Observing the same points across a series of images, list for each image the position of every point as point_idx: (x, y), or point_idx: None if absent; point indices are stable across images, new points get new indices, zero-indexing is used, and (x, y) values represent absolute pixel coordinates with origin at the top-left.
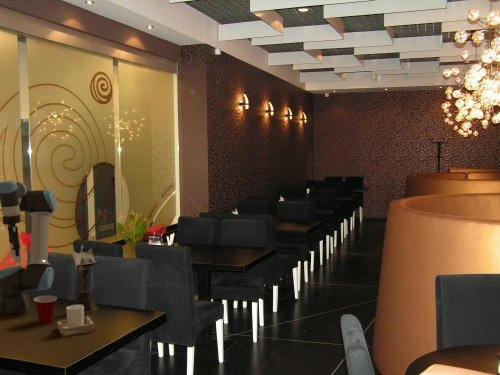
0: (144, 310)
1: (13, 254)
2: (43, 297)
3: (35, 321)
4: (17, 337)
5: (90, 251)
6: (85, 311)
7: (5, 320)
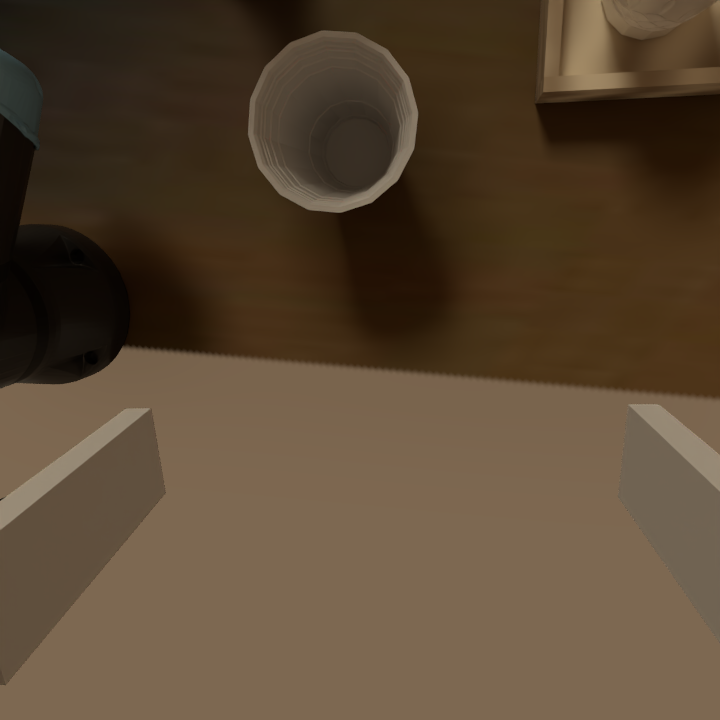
0: None
1: (140, 484)
2: (260, 134)
3: None
4: (558, 325)
5: None
6: None
7: (217, 351)
